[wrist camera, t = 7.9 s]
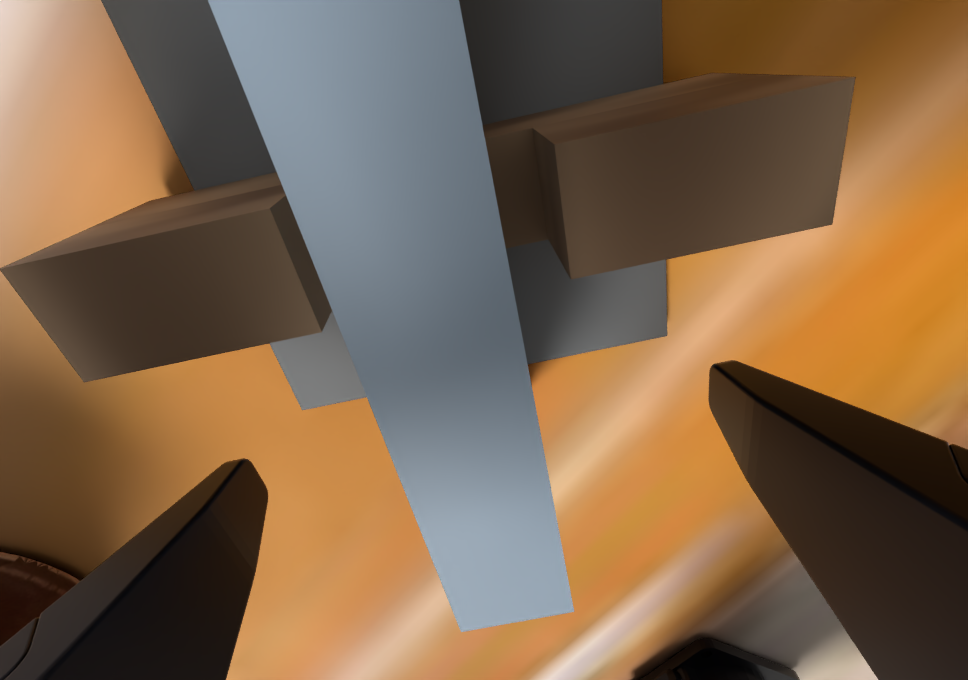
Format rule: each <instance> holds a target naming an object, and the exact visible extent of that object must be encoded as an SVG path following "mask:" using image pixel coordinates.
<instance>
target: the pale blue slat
mask: <svg viewBox="0 0 968 680" xmlns="http://www.w3.org/2000/svg"><path fill="white" fill-rule="evenodd" d="M208 2H209V4H210V7H211V9H212V12H213V14H214V17H215V19H216V22H217V24H218V27H219V29H220V32H221V34H222V37H223V39H224V42H225V44H226V47H227V49H228V52H229V54H230V57H231V59H232V62H233V64H234V67H235V69H236V72H237V74H238V77H239V79H240V82H241V84H242V87H243V89H244V92H245V94H246V97H247V99H248V102H249V104H250V107H251V109H252V112H253V114H254V117H255V119H256V122H257V124H258V127H259V129H260V132H261V134H262V137H263V139H264V142H265V144H266V147H267V149H268V152H269V154H270V157H271V159H272V162H273V164H274V167H275V169H276V171H277V174H278V176H279V179H280V181H281V184H282V186H283V189H284V191H285V194H286V196H287V199H288V201H289V204H290V206H291V209H292V211H293V214H294V216H295V219H296V221H297V224H298V226H299V229H300V231H301V234H302V236H303V239H304V241H305V244H306V246H307V249H308V251H309V254H310V256H311V259H312V261H313V264H314V266H315V269H316V271H317V274H318V276H319V279H320V281H321V284H322V286H323V289H324V291H325V294H326V296H327V299H328V301H329V304H330V306H331V309H332V311H333V314H334V316H335V319H336V321H337V324H338V326H339V329H340V331H341V334H342V336H343V339H344V341H345V344H346V346H347V349H348V351H349V354H350V356H351V359H352V361H353V364H354V366H355V369H356V371H357V373H358V376H359V378H360V381H361V383H362V386H363V388H364V391H365V393H366V396H367V398H368V401H369V403H370V406H371V408H372V411H373V413H374V416H375V418H376V421H377V423H378V426H379V428H380V431H381V433H382V436H383V438H384V441H385V443H386V446H387V448H388V451H389V453H390V456H391V458H392V461H393V463H394V466H395V468H396V471H397V473H398V476H399V478H400V481H401V483H402V486H403V488H404V491H405V493H406V496H407V498H408V501H409V503H410V506H411V508H412V511H413V513H414V516H415V518H416V521H417V523H418V526H419V528H420V531H421V533H422V536H423V538H424V541H425V543H426V546H427V548H428V551H429V553H430V556H431V558H432V561H433V563H434V566H435V568H436V571H437V573H438V575H439V578H440V580H441V583H442V585H443V588H444V590H445V593H446V595H447V598H448V600H449V603H450V605H451V608H452V610H453V613H454V615H455V618H456V620H457V623H458V625H459V628H460V630H461V632H464V631H470V630H476V629H481V628H487V627H492V626H498V625H503V624H509V623H514V622H520V621H525V620H531V619H537V618H542V617H548V616H553V615H559V614H564V613H570V612H574V608H573V603H572V598H571V592H570V587H569V582H568V577H567V571H566V566H565V561H564V555H563V550H562V545H561V539H560V534H559V529H558V523H557V518H556V513H555V508H554V502H553V497H552V492H551V486H550V481H549V476H548V470H547V465H546V460H545V454H544V449H543V444H542V439H541V433H540V428H539V423H538V417H537V412H536V407H535V401H534V396H533V391H532V386H531V380H530V375H529V370H528V364H527V359H526V354H525V348H524V343H523V338H522V332H521V327H520V322H519V317H518V311H517V306H516V301H515V295H514V290H513V285H512V279H511V274H510V269H509V263H508V258H507V253H506V248H505V242H504V237H503V232H502V226H501V221H500V216H499V210H498V205H497V200H496V194H495V189H494V184H493V179H492V173H491V168H490V163H489V157H488V152H487V147H486V141H485V136H484V131H483V125H482V120H481V115H480V110H479V104H478V99H477V94H476V88H475V83H474V78H473V72H472V67H471V62H470V56H469V51H468V46H467V41H466V35H465V30H464V25H463V19H462V14H461V9H460V3H459V0H208Z"/></svg>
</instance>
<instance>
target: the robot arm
mask: <svg viewBox="0 0 968 680" xmlns="http://www.w3.org/2000/svg"><path fill="white" fill-rule="evenodd" d="M709 405H710V409H711V411H712V414H713V416H714V418H715V420H716V421H717V423H718V425H719V427H720V429H721V431H722V433H723V435H724V437H725V439H726V441H727V443H728V445H729V447H730V449H731V451H732V453H733V455H734V457H735V459H736V461H737V463H738V465H739V467H740V469H741V471H742V472H743V474H744V476H745V478H746V480H747V481H748V483H749V485H750V486H751V488H752V489H753V491H754V493H755V494H756V496H757V497H758V499H759V500H760V502H761V503H762V505H763V506H764V508H765V509H766V511H767V512H768V514H769V515H770V517H771V518H772V520H773V521H774V523H775V524H776V526H777V527H778V529H779V530H780V532H781V533H782V535H783V536H784V538H785V539H786V541H787V542H788V544H789V545H790V547H791V548H792V550H793V551H794V553H795V554H796V556H797V557H798V559H799V560H800V562H801V564H802V565H803V567H804V568H805V570H806V571H807V573H808V574H809V576H810V577H811V579H812V580H813V582H814V583H815V585H816V586H817V588H818V589H819V591H820V592H821V594H822V595H823V597H824V598H825V600H826V601H827V603H828V604H829V606H830V607H831V609H832V610H833V612H834V613H835V615H836V616H837V618H838V619H839V621H840V622H841V624H842V625H843V627H844V628H845V630H846V631H847V633H848V634H849V636H850V638H851V639H852V641H853V642H854V644H855V645H856V647H857V648H858V650H859V651H860V653H861V654H862V656H863V657H864V659H865V660H866V662H867V663H868V665H869V666H870V668H871V669H872V671H873V672H874V674H875V675H876V677H877V678H878V680H968V449H965V448H963V447H960V446H957V445H955V444H951V445H949V444H948V442H946V441H944V440H941V439H939V438H936V437H934V436H931V435H928V434H926V433H923V432H921V431H918V430H915V429H913V428H910V427H908V426H905V425H902V424H900V423H897V422H894V421H892V420H889V419H887V418H884V417H881V416H879V415H876V414H874V413H871V412H868V411H866V410H863V409H861V408H858V407H855V406H853V405H850V404H848V403H845V402H842V401H840V400H837V399H835V398H832V397H829V396H827V395H824V394H822V393H819V392H816V391H814V390H811V389H808V388H806V387H803V386H801V385H798V384H795V383H793V382H790V381H788V380H785V379H782V378H780V377H777V376H775V375H772V374H769V373H767V372H764V371H762V370H759V369H756V368H754V367H751V366H749V365H746V364H743V363H741V362H738V361H735V360H731V361H726V362H721V363H716V364H713V365H712V366H711V368H710V372H709ZM267 503H268V491H267V488H266V486H265V484H264V482H263V481H262V479H261V477H260V475H259V474H258V472H257V470H256V469H255V467H254V465H253V464H252V462H251V461H249V460H248V459H238V460H233V461H229V462H226V463H224V464H222V465H221V466H220V467H219V468H217V469H216V470H215V471H214V472H213V473H211V474H210V475H209V476H208V477H207V478H205V479H204V480H203V481H202V482H200V483H199V484H198V485H197V486H196V487H194V488H193V489H192V490H191V491H189V492H188V493H187V494H186V495H185V496H183V497H182V498H181V499H180V500H178V501H177V502H176V503H175V504H174V505H172V506H171V507H170V508H169V509H168V510H166V511H165V512H164V513H163V514H161V515H160V516H159V517H158V518H157V519H155V520H154V521H153V522H152V523H150V524H149V525H148V526H147V527H146V528H144V529H143V530H142V531H141V532H139V533H138V534H137V535H136V536H135V537H133V538H132V539H131V540H130V541H129V542H127V543H126V544H125V545H124V546H122V547H121V548H120V549H119V550H118V551H116V552H115V553H114V554H113V555H111V556H110V557H109V558H108V559H107V560H105V561H104V562H103V563H102V564H100V565H99V566H98V567H97V568H96V569H94V570H93V571H92V572H91V573H90V574H88V575H87V576H86V577H85V578H83V579H82V580H81V581H80V582H79V583H77V584H76V585H75V586H74V587H72V588H71V589H70V590H69V591H68V592H66V593H65V594H64V595H63V596H62V597H60V598H59V599H58V600H57V601H55V602H54V603H53V604H52V605H51V606H49V607H48V608H47V609H46V610H44V611H43V612H42V613H41V614H40V617H37V618H35V619H33V620H32V621H31V622H30V623H28V624H27V625H26V626H25V627H24V628H22V629H21V630H20V631H19V632H17V633H16V634H15V635H14V636H13V637H11V638H10V639H9V640H8V641H6V642H5V643H4V644H3V645H1V646H0V680H226V678H227V674H228V670H229V667H230V663H231V660H232V656H233V652H234V649H235V645H236V642H237V638H238V634H239V631H240V627H241V624H242V620H243V616H244V613H245V609H246V606H247V602H248V599H249V595H250V591H251V588H252V584H253V580H254V576H255V572H256V567H257V562H258V556H259V550H260V544H261V538H262V532H263V526H264V520H265V515H266V509H267ZM641 680H800V679H799V677H798V676H797V674H796V672H795V671H794V670H791V669H789V668H786V667H783V666H781V665H778V664H776V663H773V662H770V661H768V660H765V659H763V658H760V657H757V656H755V655H752V654H750V653H747V652H744V651H742V650H739V649H737V648H734V647H731V646H729V645H726V644H724V643H721V642H718V641H716V640H713V639H710V638H702V639H698V640H696V641H694V642H693V643H691V644H690V645H689V646H687V647H686V648H684V649H683V650H682V651H680V652H679V653H677V654H676V655H675V656H673V657H672V658H670V659H669V660H668V661H666V662H665V663H663V664H662V665H660V666H659V667H658V668H656V669H655V670H653V671H652V672H651V673H649V674H648V675H646V676H645V677H644V678H642V679H641Z"/></svg>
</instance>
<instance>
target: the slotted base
mask: <svg viewBox="0 0 968 680" xmlns="http://www.w3.org/2000/svg"><path fill="white" fill-rule="evenodd" d="M101 1H102V3H103V5H104V7H105V9H106V11H107V13H108V15H109V17H110V19H111V21H112V23H113V25H114V27H115V30H116V32H117V34H118V36H119V38H120V40H121V42H122V44H123V46H124V48H125V50H126V52H127V54H128V56H129V58H130V60H131V62H132V64H133V66H134V68H135V70H136V72H137V74H138V76H139V78H140V80H141V83H142V85H143V87H144V89H145V91H146V93H147V95H148V97H149V99H150V101H151V103H152V105H153V107H154V109H155V111H156V113H157V115H158V117H159V119H160V121H161V123H162V125H163V127H164V129H165V131H166V133H167V135H168V138H169V140H170V142H171V144H172V146H173V148H174V150H175V152H176V154H177V156H178V158H179V160H180V162H181V164H182V166H183V168H184V170H185V172H186V174H187V176H188V178H189V180H190V182H191V184H192V186H193V188H194V191H191V192H186V193H182V194H178V195H173V196H169V197H164V198H160V199H156V200H151V201H148V202H146V203H144V204H142V205H139V206H137V207H135V208H133V209H131V210H128V211H126V212H124V213H122V214H120V215H117V216H115V217H113V218H111V219H109V220H106V221H104V222H102V223H100V224H97V225H95V226H93V227H91V228H89V229H86V230H84V231H82V232H80V233H78V234H75V235H73V236H71V237H69V238H66V239H64V240H62V241H60V242H58V243H55V244H53V245H51V246H49V247H47V248H44V249H42V250H40V251H38V252H36V253H33V254H31V255H29V256H27V257H24V258H22V259H20V260H18V261H16V262H13V263H11V264H9V265H7V266H5V267H2V268H0V270H1V272H2V273H3V274H4V276H5V277H6V278H7V280H8V281H9V282H10V284H11V285H12V287H13V288H14V289H15V291H16V292H17V293H18V295H19V296H20V297H21V299H22V300H23V301H24V303H25V304H26V305H27V307H28V308H29V309H30V311H31V312H32V313H33V315H34V316H35V317H36V319H37V320H38V321H39V323H40V324H41V325H42V327H43V328H44V329H45V331H46V332H47V333H48V335H49V336H50V337H51V339H52V340H53V341H54V343H55V344H56V345H57V347H58V348H59V349H60V351H61V352H62V353H63V355H64V356H65V357H66V359H67V360H68V362H69V363H70V364H71V366H72V367H73V368H74V370H75V371H76V372H77V374H78V375H79V376H80V378H81V379H82V380H83V382H88V381H93V380H98V379H102V378H107V377H112V376H117V375H121V374H126V373H131V372H136V371H140V370H145V369H150V368H154V367H159V366H164V365H169V364H173V363H178V362H183V361H188V360H192V359H197V358H202V357H207V356H211V355H216V354H221V353H226V352H230V351H235V350H240V349H244V348H249V347H254V346H259V345H263V344H268V343H270V345H271V347H272V349H273V352H274V354H275V356H276V358H277V360H278V362H279V364H280V366H281V368H282V370H283V372H284V374H285V376H286V378H287V380H288V382H289V384H290V386H291V388H292V390H293V392H294V394H295V396H296V398H297V400H298V402H299V405H300V407H301V409H302V410H306V409H311V408H316V407H321V406H326V405H331V404H336V403H340V402H345V401H350V400H355V399H360V398H365V397H367V396H366V393H365V391H364V388H363V386H362V383H361V381H360V378H359V376H358V373H357V371H356V369H355V366H354V364H353V361H352V359H351V356H350V354H349V351H348V349H347V346H346V344H345V341H344V339H343V336H342V334H341V331H340V329H339V326H338V324H337V321H336V319H335V316H334V314H333V311H332V309H331V306H330V304H329V301H328V299H327V296H326V294H325V291H324V289H323V286H322V284H321V281H320V279H319V276H318V274H317V271H316V269H315V266H314V264H313V261H312V259H311V256H310V254H309V251H308V249H307V246H306V244H305V241H304V239H303V236H302V234H301V231H300V229H299V226H298V224H297V221H296V219H295V216H294V214H293V211H292V209H291V206H290V204H289V201H288V199H287V196H286V194H285V191H284V189H283V186H282V184H281V181H280V179H279V176H278V174H277V171H276V169H275V167H274V164H273V162H272V159H271V157H270V154H269V152H268V149H267V147H266V144H265V142H264V139H263V137H262V134H261V132H260V129H259V127H258V124H257V122H256V119H255V117H254V114H253V112H252V109H251V107H250V104H249V102H248V99H247V97H246V94H245V92H244V89H243V87H242V84H241V82H240V79H239V77H238V74H237V72H236V69H235V67H234V64H233V62H232V59H231V57H230V54H229V52H228V49H227V47H226V44H225V42H224V39H223V37H222V34H221V32H220V29H219V27H218V24H217V22H216V19H215V17H214V14H213V12H212V9H211V7H210V4H209V2H208V0H101ZM459 3H460V9H461V14H462V19H463V25H464V30H465V35H466V41H467V46H468V51H469V56H470V62H471V67H472V72H473V78H474V83H475V88H476V94H477V99H478V104H479V110H480V115H481V120H482V125H483V131H484V136H485V141H486V147H487V152H488V157H489V163H490V168H491V173H492V179H493V184H494V189H495V194H496V200H497V205H498V210H499V216H500V221H501V226H502V232H503V237H504V242H505V248H506V253H507V258H508V263H509V269H510V274H511V279H512V285H513V290H514V295H515V301H516V306H517V311H518V317H519V322H520V327H521V332H522V338H523V343H524V348H525V354H526V359H527V364H532V363H537V362H541V361H546V360H551V359H556V358H561V357H566V356H571V355H576V354H581V353H586V352H591V351H595V350H600V349H605V348H610V347H615V346H620V345H625V344H630V343H635V342H640V341H644V340H649V339H654V338H659V337H664V336H667V294H666V259H671V258H676V257H680V256H685V255H690V254H695V253H699V252H704V251H709V250H714V249H718V248H723V247H728V246H733V245H737V244H742V243H747V242H752V241H756V240H761V239H766V238H770V237H775V236H780V235H785V234H789V233H794V232H799V231H804V230H808V229H813V228H818V227H823V226H827V225H832V223H833V217H834V210H835V204H836V198H837V191H838V185H839V179H840V172H841V166H842V160H843V153H844V147H845V141H846V134H847V128H848V122H849V115H850V109H851V103H852V96H853V90H854V84H855V78H856V77H838V76H803V75H769V74H734V73H710V74H705V75H701V76H696V77H692V78H688V79H683V80H679V81H674V82H670V83H666V84H663V45H662V0H459Z"/></svg>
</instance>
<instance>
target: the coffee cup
mask: <svg viewBox="0 0 968 680" xmlns="http://www.w3.org/2000/svg"><path fill="white" fill-rule="evenodd" d="M79 582H80V581H79V580H78V579H76V578H75V577H73V576H71V575H69V574H67V573H65V572H63V571H61V570H58V569H56V568H53V567H51V566H49V565H46V564H44V563H41V562H38V561H35V560H31V559H28V558H25V557H22V556H18V555H13V554H8V553H2V552H0V646H1V645H3V644H4V643H5V642H6V641H8V640H9V639H10V638H11V637H13V636H14V635H15V634H16V633H17V632H19V631H20V630H21V629H22V628H24V627H25V626H26V625H27V624H28V623H30V622H31V621H32V620H33V619H35V618H37V617H40V614H41V613H42V612H43V611H44V610H46V609H47V608H48V607H49V606H51V605H52V604H53V603H54V602H55V601H57V600H58V599H59V598H60V597H62V596H63V595H64V594H65V593H66V592H68V591H69V590H70V589H71V588H72V587H74V586H75V585H76V584H77V583H79Z"/></svg>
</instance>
